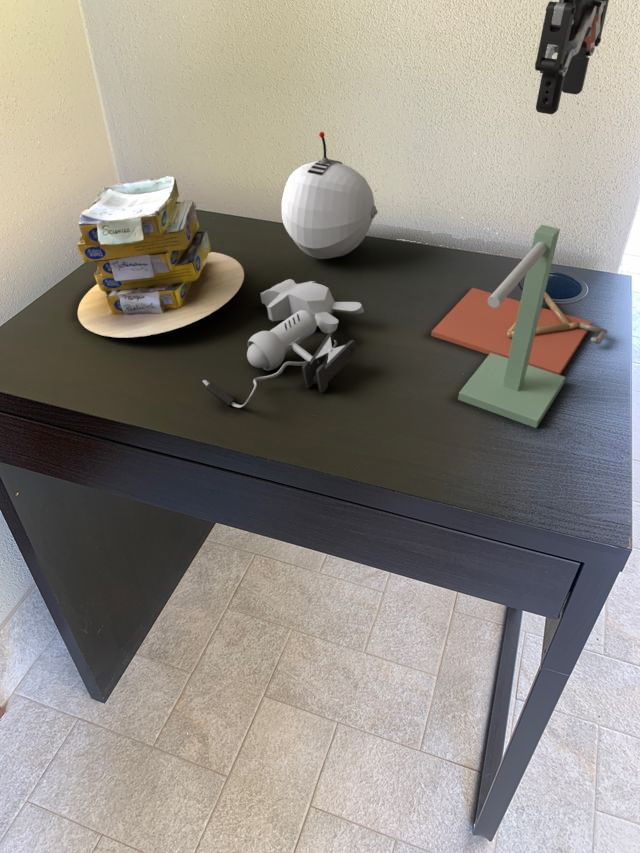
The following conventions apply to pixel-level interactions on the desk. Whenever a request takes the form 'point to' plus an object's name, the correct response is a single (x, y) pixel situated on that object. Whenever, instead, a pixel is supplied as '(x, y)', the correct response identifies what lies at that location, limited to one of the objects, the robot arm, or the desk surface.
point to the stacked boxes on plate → (150, 262)
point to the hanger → (563, 324)
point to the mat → (489, 326)
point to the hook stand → (519, 345)
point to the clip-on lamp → (275, 343)
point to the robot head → (327, 207)
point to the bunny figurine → (306, 303)
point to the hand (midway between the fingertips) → (559, 102)
